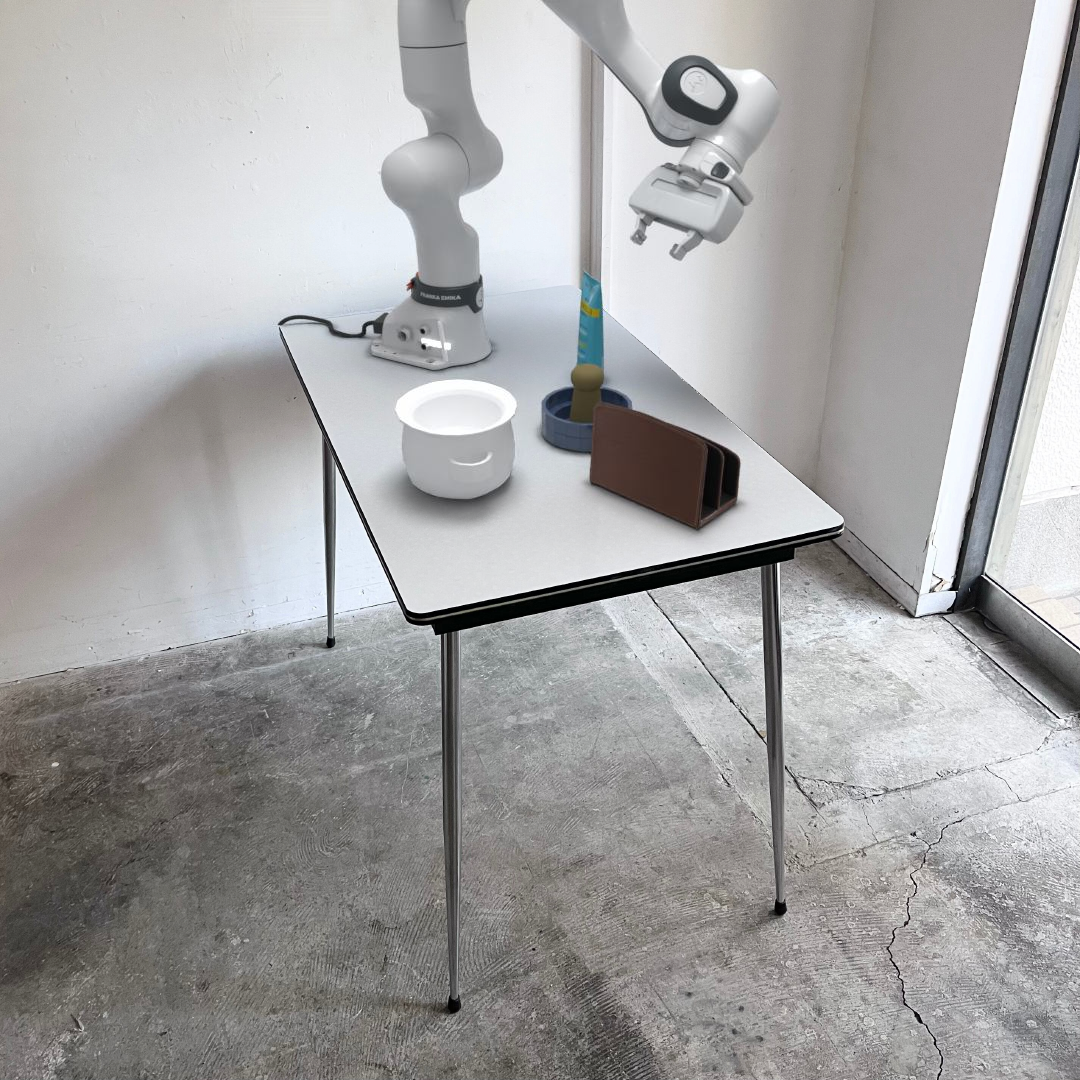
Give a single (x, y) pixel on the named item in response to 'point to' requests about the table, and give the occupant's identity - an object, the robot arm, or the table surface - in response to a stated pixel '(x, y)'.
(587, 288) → the tube
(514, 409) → the pot
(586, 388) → the cork
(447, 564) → the table surface
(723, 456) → the letter holder
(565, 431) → the bowl
